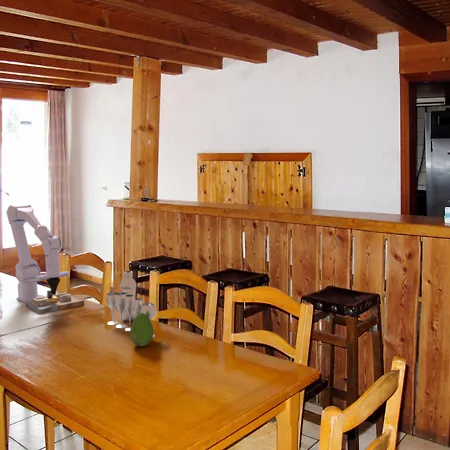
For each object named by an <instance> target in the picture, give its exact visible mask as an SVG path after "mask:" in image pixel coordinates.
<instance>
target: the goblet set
mask: <svg viewBox="0 0 450 450" xmlns="http://www.w3.org/2000/svg"><path fill="white" fill-rule="evenodd" d="M105 301H106V304H107V306H108V307H109V308H110V311H111V319H112V320H111V321H108V322H107V325H110V326H111V325H115V328H118V329H123V328H125V329H124V330H125V331H127V332H131V327H132V325H131V313H132V310H133V308H135V311H136V313H137V314H139V313H145V314H146V315H147V316H148V317H149V319H150V321H151V322H152V320H153V318H154V317H155V316H156V314H157V307H156V305H155V303H154V302H144V298H142V297H135V300H134V295H127V293H125V292H121V291H119V292H108V293H106V297H105ZM125 307H126V309H127V311H128V314H129V320H130V321H129V327H128V324H125V323H123V319H122V311H123V309H124V308H125ZM116 308H117V310H118V311H119V314H120V315H119V316H120V321H117V320H114V313H115V312H114V311H115V309H116ZM119 322H120V323H119ZM155 337H156V334H154V333H153V338H155Z"/></svg>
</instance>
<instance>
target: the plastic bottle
mask: <svg viewBox="0 0 450 450" xmlns="http://www.w3.org/2000/svg"><path fill="white" fill-rule="evenodd" d="M133 273H134V272H133V271H132V270H126V271H125V270H124V271H123V275H122V276H123V278H122V280H121V282H120V285H119V286H120V292H125V293H127V295H134V300H135V299H136V292H137V282H136V280H135V279H134V278H133V276H134V275H133ZM136 316H137V313H136V311H135V308H133V310H132V313H131V321H132V322H133V321H134V319H135V317H136ZM122 321H126V322H130V320H129V314H128V311H127V309H126V307H125V308H124V309H123V311H122Z"/></svg>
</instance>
